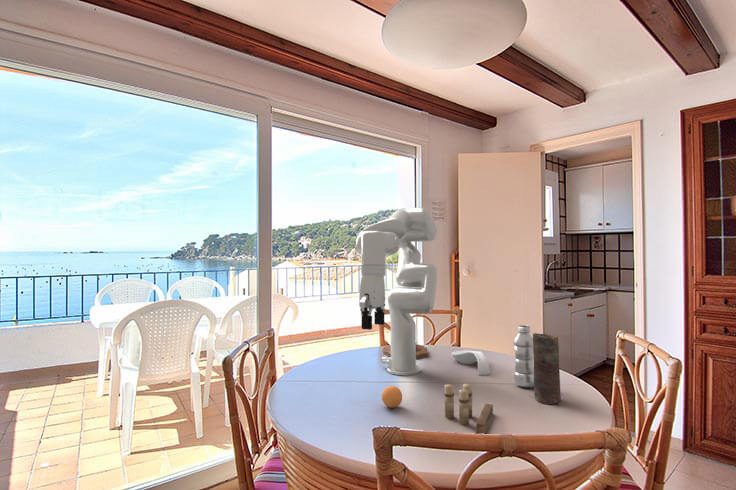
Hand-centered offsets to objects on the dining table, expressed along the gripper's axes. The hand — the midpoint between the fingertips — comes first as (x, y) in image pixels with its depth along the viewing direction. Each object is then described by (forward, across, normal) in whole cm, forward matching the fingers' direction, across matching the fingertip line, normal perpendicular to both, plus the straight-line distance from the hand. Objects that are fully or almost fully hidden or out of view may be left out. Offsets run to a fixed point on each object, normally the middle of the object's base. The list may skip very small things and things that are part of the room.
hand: (373, 326), depth 123 cm
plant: (+21, -56, -8) cm, 61 cm away
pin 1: (+22, 0, +28) cm, 36 cm away
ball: (+20, +2, +7) cm, 21 cm away
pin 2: (+23, +5, +28) cm, 37 cm away
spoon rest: (+22, -48, +22) cm, 57 cm away
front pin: (+23, +2, +24) cm, 33 cm away
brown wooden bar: (+23, +3, +33) cm, 40 cm away
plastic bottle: (+22, -31, +42) cm, 56 cm away
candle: (+22, -21, +48) cm, 57 cm away
